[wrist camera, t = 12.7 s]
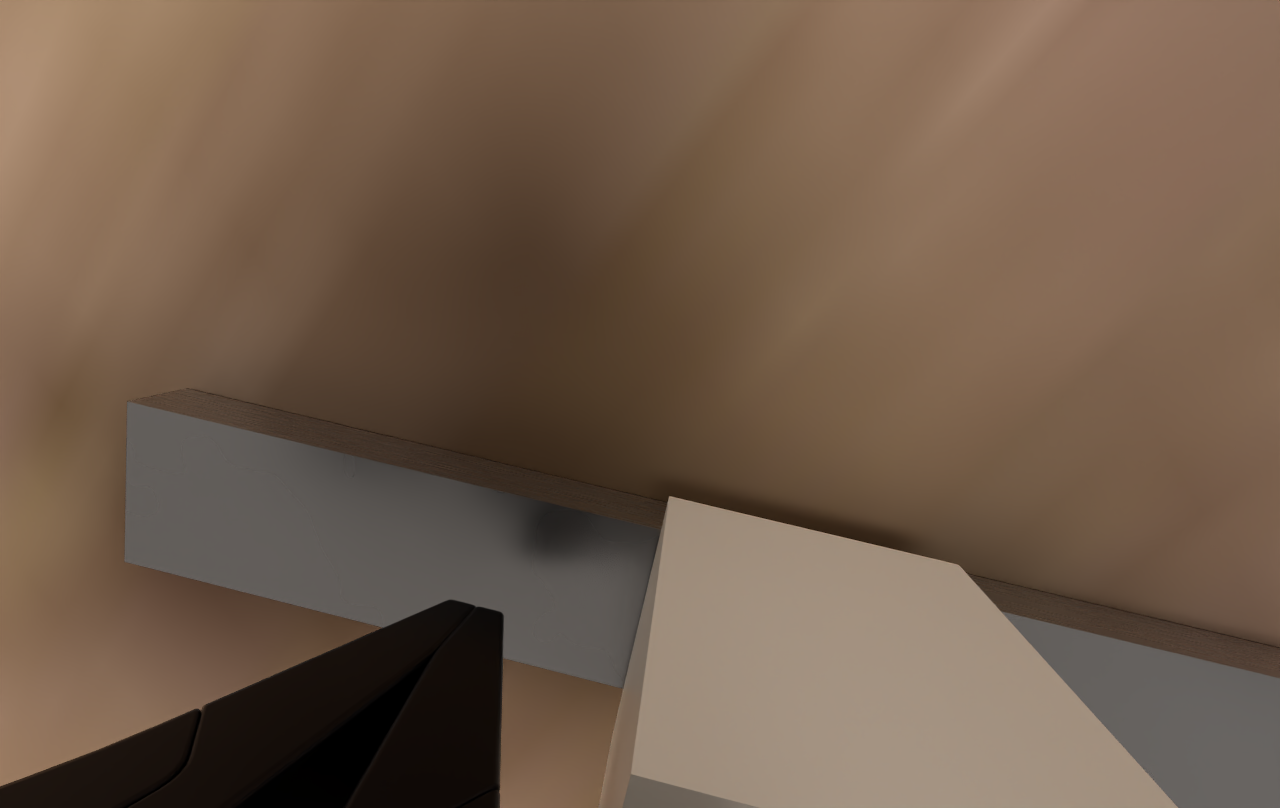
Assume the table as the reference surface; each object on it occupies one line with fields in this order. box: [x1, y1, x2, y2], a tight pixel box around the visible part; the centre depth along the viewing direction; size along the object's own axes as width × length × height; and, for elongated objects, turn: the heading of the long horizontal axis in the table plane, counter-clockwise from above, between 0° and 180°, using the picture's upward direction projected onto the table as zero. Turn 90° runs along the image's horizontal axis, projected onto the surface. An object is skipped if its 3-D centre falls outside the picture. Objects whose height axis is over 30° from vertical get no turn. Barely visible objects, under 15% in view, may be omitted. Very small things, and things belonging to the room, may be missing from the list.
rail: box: [125, 388, 1280, 808], centre depth 10 cm, size 20×3×1 cm, turn 78°
